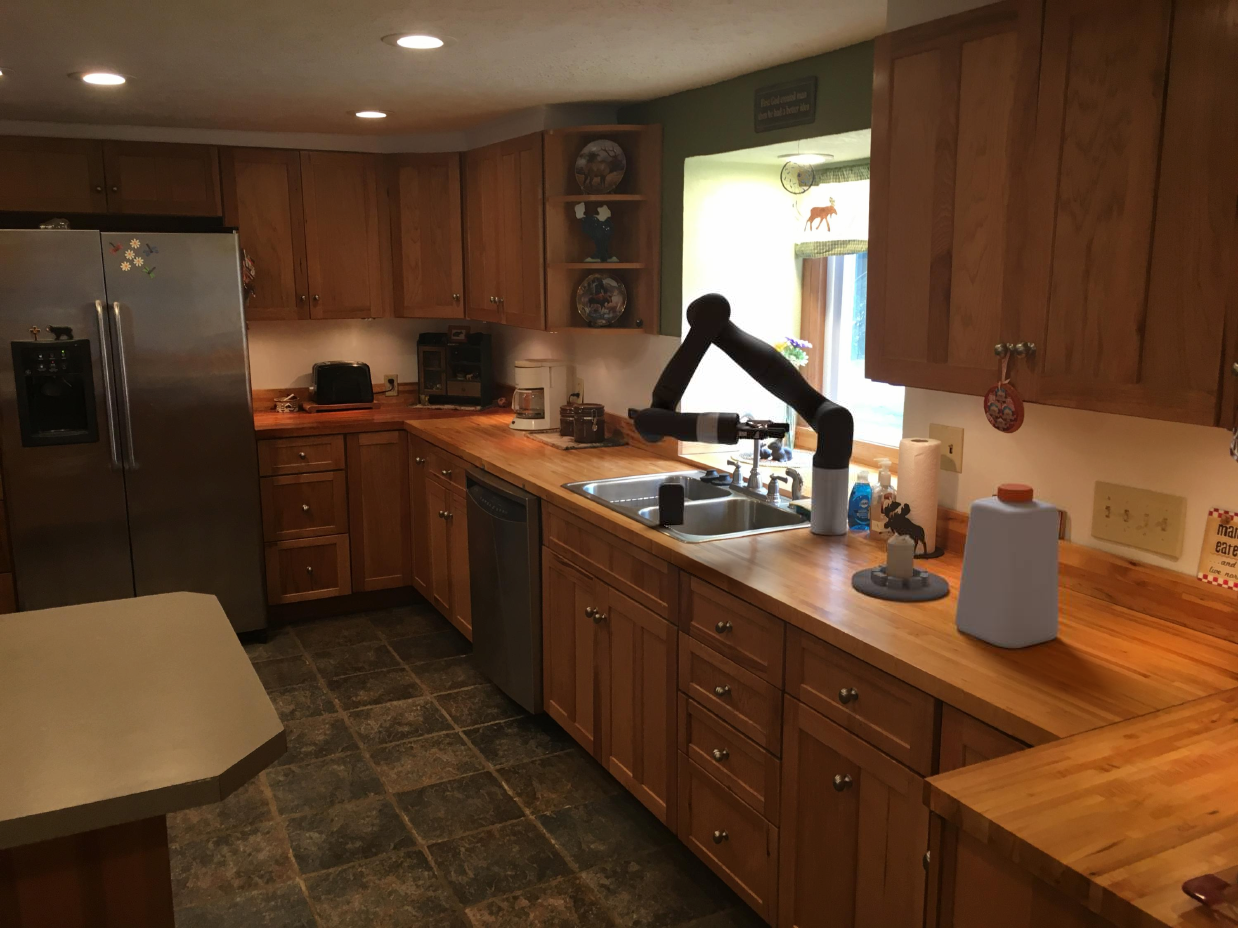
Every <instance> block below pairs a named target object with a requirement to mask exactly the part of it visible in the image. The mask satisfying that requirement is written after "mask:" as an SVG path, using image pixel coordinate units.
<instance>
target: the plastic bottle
mask: <svg viewBox="0 0 1238 928" xmlns="http://www.w3.org/2000/svg"><path fill="white" fill-rule="evenodd" d="M996 494H997V495H994V496H988V497H982V498H978V499H975V500H974V501H973V502H972V503H971V505H970V509H969V517H968V518H969V519H968V524H967V525H968V526H967V531H966V537H965V545H964V552H963V553H964V554H963V559H962V567H961V574H960V582H959V590H958V598H957V602H956V603H957V605H956V611H955V620H954V623H955V626H956V627H957V629H958V630H959V631H960V632H962V633H964V634H967V635H969V636H972V637H974V638H977V639H978V640H982V641H984V642H986V643H989V644H990V645H993V646H996V647H1000V648H1005V649H1021V648H1025V647H1030V646H1033V645H1037V644H1041V643H1044V642H1046V643H1047V642H1050V641H1052V640H1054V639H1055V638H1056V637H1057V636H1058V634H1059V633H1058V632H1059V509H1058V507H1057V506H1055V505H1054V504H1053V503H1049V502H1046V501H1043V500H1039V499H1035V498H1034V488H1033V487H1032V486H1030V485H1027V484H1021V483H1003V484H1002V483H1001V484H1000V485H999V486H998V487H997V493H996Z"/></svg>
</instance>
